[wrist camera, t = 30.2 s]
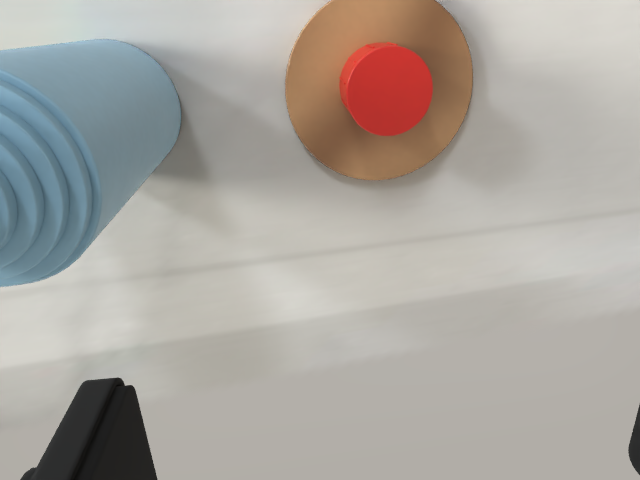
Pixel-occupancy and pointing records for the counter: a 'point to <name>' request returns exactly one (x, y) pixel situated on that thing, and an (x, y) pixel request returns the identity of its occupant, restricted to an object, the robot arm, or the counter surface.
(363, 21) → the coaster
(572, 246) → the counter surface
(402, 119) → the cap
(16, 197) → the bottle
